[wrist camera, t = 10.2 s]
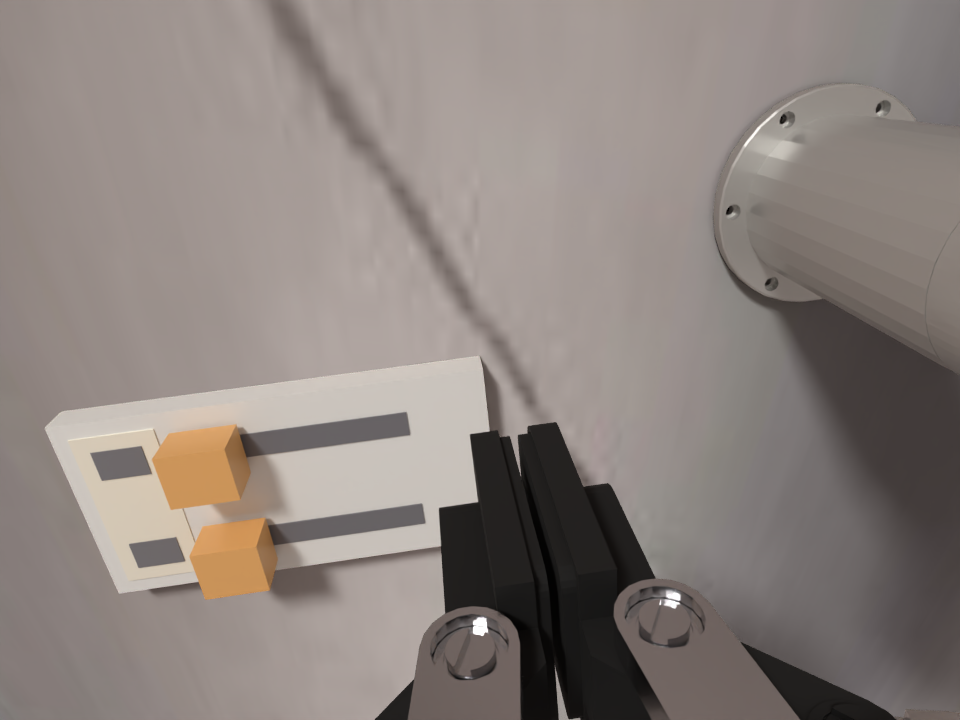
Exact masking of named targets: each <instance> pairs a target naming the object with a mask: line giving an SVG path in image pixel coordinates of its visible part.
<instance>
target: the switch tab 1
mask: <svg viewBox="0 0 960 720" xmlns="http://www.w3.org/2000/svg"><path fill="white" fill-rule="evenodd" d="M152 462H153V464H154V467H155V470H156V472H157V475H158V478H159V480H160V483H161V486H162V488H163V491H164V493H165V496H166V499H167V501H168V504H169V507H170V509H171V510H174V509H181V508H189V507H196V506H203V505H210V504H217V503H224V502H231V501H238V500H241V497H242V495H243V492H244V490H245V487H246V484H247V482H248V479H249V477H250V474H251V471H250V467H249V464H248V461H247V457H246V454H245V451H244V448H243V444H242V441H241V438H240V434H239V431H238V428H237V424H234V425H227V426H220V427H212V428H205V429H198V430H190V431H183V432H176V433H169V434H168V435H167V437H166V438H165V440H164V441H163V443H162V444H161V446H160V448H159V449H158V451H157V452H156V454H155V455H154V457H153V458H152Z"/></svg>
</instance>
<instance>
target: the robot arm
mask: <svg viewBox="0 0 960 720" xmlns="http://www.w3.org/2000/svg"><path fill="white" fill-rule="evenodd" d="M781 116H783V119H782V121H781V122H780V118H781ZM729 206H730V210H729V211H728V212H727V213H726V211H727V209H728V207H729ZM713 220H714V232H715V237H716V241H717V244H718V247H719V251H720V253H721V255H722V257H723V259H724V260H725V262H726V264H727V266H728V268H729V269H730V270H731V271H732V272H733V273H734V274H735V275H736V276H737V277H738V278H739V280H741V281H742V282H744V283H745V284H746V285H748V286H749V287H751V288H752V289H753V290H755V291H757V292H759V293H761V294H762V295H764V296H767V297H770V298H774V299H778V300H781V301H789V302H807V301H815V300H821V299H825V300H827V301H828V302H830V303H832V304H834V305H836V306H837V307H839V308H841V309H843V310H844V311H846V312H848V313H850V314H851V315H853V316H855V317H857V318H858V319H860V320H862V321H864V322H865V323H867V324H869V325H871V326H872V327H874V328H876V329H878V330H880V331H881V332H883V333H885V334H887V335H888V336H890V337H892V338H894V339H895V340H897V341H899V342H901V343H902V344H904V345H906V346H908V347H909V348H911V349H913V350H915V351H917V352H918V353H920V354H922V355H924V356H925V357H927V358H929V359H931V360H932V361H934V362H936V363H938V364H939V365H941V366H943V367H945V368H947V369H949V370H951V371H953V372H955V373H956V374H958V375H960V127H959V126H950V125H941V124H932V123H924V122H917V120H916V119H915V117H914V116H913V114H912V113H911V111H910V110H909V109H908V108H907V107H906V106H905V105H904V104H903V103H902V102H900V101H899V100H898V99H897V98H896V97H894V96H893V95H891V94H889V93H887V92H885V91H883V90H881V89H879V88H875V87H870V86H866V85H861V84H849V83H836V84H828V85H819V86H816V87H813V88H810V89H807V90H804V91H801V92H798V93H796V94H794V95H792V96H790V97H788V98H787V99H785V100H783V101H781V102H779V103H778V104H776V105H775V106H774V107H772V108H771V109H770V110H769V111H767V112H766V113H765V114H763V115H762V116H761V117H760V118H759V119H758V120H757V121H756V122H755V123H754V124H753V125H752V126H751V127H750V128H749V129H748V130H747V132H746V133H745V134H744V135H743V136H742V138H741V139H740V141H739V142H738V144H737V145H736V147H735V148H734V150H733V151H732V153H731V154H730V156H729V158H728V160H727V163H726V165H725V167H724V169H723V171H722V173H721V176H720V180H719V183H718V187H717V190H716V194H715V202H714V212H713ZM470 442H471V450H472V458H473V466H474V474H475V481H476V489H477V497H478V502H475V503H468V504H461V505H454V506H447V507H441V508H439V523H440V538H441V553H442V569H443V584H444V599H445V614H444V615H442V616H441V617H440V618H438V619H437V620H436V621H434V622H433V623H432V624H431V626H430V627H429V628H428V630H427V631H426V632H425V633H424V635H423V638H422V641H421V644H420V647H419V653H418V659H417V665H416V672H415V678H414V680H413V681H412V682H411V683H410V684H409V685H408V686H407V687H406V688H405V689H404V690H403V691H402V692H401V693H400V694H399V695H398V696H397V697H396V698H395V699H394V700H393V701H392V702H391V703H390V704H389V705H388V706H387V708H386V709H385V710H384V711H383V712H382V713H381V714H380V715H379V716H378V717H377V718H376V719H375V720H559V718H558V704H557V690H556V677H555V667H556V671H557V675H558V679H559V684H560V688H561V692H562V696H563V700H564V704H565V708H566V712H567V716H568V718H569V719H574V718H580V719H581V720H960V712H949V711H932V710H915V709H906V710H905V714H904V717H893V716H892V715H891V714H890V713H889V712H887V711H886V710H884V709H882V708H880V707H879V706H877V705H875V704H873V703H872V702H870V701H868V700H866V699H864V698H862V697H859V696H857V695H855V694H853V693H851V692H848V691H846V690H844V689H842V688H840V687H838V686H835V685H833V684H831V683H829V682H827V681H824V680H822V679H820V678H818V677H816V676H814V675H811V674H809V673H807V672H805V671H803V670H800V669H798V668H796V667H794V666H792V665H789V664H787V663H785V662H783V661H781V660H779V659H776V658H774V657H772V656H770V655H768V654H765V653H763V652H761V651H759V650H757V649H755V648H752V647H750V646H748V645H746V644H744V643H741V642H740V641H739V640H738V639H737V637H736V636H735V635H734V634H733V632H732V631H731V630H730V628H729V627H728V626H727V625H726V623H725V622H724V621H723V619H722V618H721V617H720V615H719V614H718V613H717V612H716V610H715V609H714V608H713V606H712V605H711V604H710V603H709V602H708V601H707V600H706V599H705V598H704V597H703V596H702V595H701V594H700V593H699V592H698V591H696V590H694V589H693V588H691V587H689V586H687V585H686V584H683V583H679V582H676V581H673V580H667V579H656V578H655V576H654V574H653V572H652V570H651V568H650V566H649V564H648V562H647V559H646V557H645V555H644V553H643V551H642V549H641V547H640V545H639V543H638V541H637V539H636V536H635V534H634V532H633V530H632V528H631V526H630V524H629V522H628V520H627V518H626V516H625V514H624V511H623V509H622V507H621V505H620V503H619V501H618V499H617V497H616V495H615V493H614V491H613V489H612V487H611V485H609V484H608V483H607V484H600V485H593V486H586V487H583V485H582V483H581V480H580V478H579V475H578V473H577V471H576V468H575V466H574V463H573V461H572V458H571V456H570V454H569V451H568V449H567V446H566V444H565V441H564V439H563V437H562V434H561V432H560V429H559V427H558V425H557V423H556V422H553V423H546V424H539V425H532V426H528V434H522V435H518V445H519V456H520V468H521V476H520V472H519V469H518V465H517V461H516V457H515V454H514V450H513V446H512V443H511V439H510V436H507V437H500V438H499V434H498V431H497V430H496V431H489V432H482V433H475V434H470ZM521 479H522V480H521Z"/></svg>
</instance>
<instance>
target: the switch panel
mask: <svg viewBox="0 0 960 720" xmlns="http://www.w3.org/2000/svg"><path fill="white" fill-rule="evenodd" d="M234 424H237V428H238V431H239V434H240V438H241V441H242V444H243V448H244V451H245V454H246V457H247V461H248V464H249V467H250V471H251V474H250V477H249V479H248V482H247V484H246V487H245V490H244V492H243V495H242V497H241V500H238V501H231V502H224V503H217V504H210V505H203V506H196V507H189V508H181V509H174V510H171V509H170V507H169V504H168V501H167V499H166V496H165V493H164V491H163V488H162V486H161V483H160V480H159V478H158V475H157V472H156V470H155V467H154V464H153V462H152V458H153V457H154V455H155V454H156V452H157V451H158V449H159V448H160V446H161V444H162V443H163V441H164V440H165V438H166V437H167V435H168V434H169V433H176V432H183V431H190V430H198V429H205V428H212V427H220V426H227V425H234ZM45 430H46V432H47V435H48V437H49V439H50V441H51V443H52V446H53V448H54V450H55V452H56V455H57V457H58V459H59V461H60V463H61V466H62V468H63V470H64V472H65V475H66V477H67V479H68V481H69V483H70V486H71V488H72V490H73V492H74V495H75V497H76V499H77V501H78V503H79V506H80V508H81V510H82V512H83V515H84V517H85V519H86V521H87V523H88V526H89V528H90V530H91V532H92V535H93V537H94V539H95V541H96V543H97V546H98V548H99V550H100V552H101V555H102V557H103V559H104V561H105V563H106V566H107V568H108V570H109V572H110V575H111V577H112V579H113V581H114V583H115V586H116V588H117V590H118V592H119V593H126V592H133V591H139V590H146V589H153V588H160V587H167V586H173V585H180V584H187V583H194V582H199V581H198V579H197V576H196V573H195V571H194V568H193V565H192V563H191V560H190V557H189V556H190V554H191V551H192V549H193V547H194V545H195V542H196V540H197V538H198V536H199V533H200V531H201V529H202V527H203V526H209V525H216V524H223V523H230V522H237V521H244V520H251V519H258V518H266V521H267V524H268V528H269V531H270V534H271V537H272V541H273V544H274V547H275V551H276V554H277V557H278V561H277V565H276V569H275V570H282V569H289V568H296V567H303V566H309V565H316V564H323V563H330V562H337V561H343V560H350V559H357V558H364V557H370V556H377V555H384V554H391V553H398V552H404V551H411V550H418V549H425V548H432V547H438V546H441V538H440V523H439V508H441V507H447V506H454V505H461V504H468V503H475V502H478V497H477V489H476V481H475V474H474V466H473V458H472V450H471V442H470V434H475V433H482V432H489V431H490V430H489V421H488V411H487V402H486V393H485V384H484V375H483V368H482V363H481V359H480V356H474V357H466V358H459V359H451V360H444V361H436V362H429V363H421V364H414V365H406V366H399V367H391V368H384V369H376V370H369V371H361V372H354V373H346V374H339V375H331V376H324V377H316V378H309V379H301V380H294V381H286V382H279V383H271V384H264V385H256V386H249V387H241V388H234V389H226V390H219V391H211V392H204V393H196V394H189V395H181V396H174V397H166V398H159V399H151V400H144V401H136V402H129V403H121V404H114V405H106V406H99V407H91V408H84V409H76V410H69V411H61V412H60V413H59V414H58V415H57V416H56V417H55V418H54V419H53V420H52V421H51V422H50V423H49V424H48V425H47V426H46V427H45Z"/></svg>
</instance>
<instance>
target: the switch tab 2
mask: <svg viewBox="0 0 960 720" xmlns="http://www.w3.org/2000/svg"><path fill="white" fill-rule="evenodd" d="M189 557H190V560H191V563H192V565H193V568H194V571H195V573H196V576H197V579H198V581H199V584H200V587H201V589H202V592H203V595H204V597H205V600H207V599H214V598H221V597H228V596H234V595H241V594H248V593H254V592H261V591H268V590H270V588H271V584H272V580H273V577H274V573H275V569H276V565H277V561H278V557H277V554H276V551H275V547H274V544H273V541H272V537H271V534H270V531H269V528H268V524H267V521H266V518H258V519H251V520H244V521H237V522H230V523H223V524H216V525H209V526H203V527H202V529H201V531H200V533H199V536H198V538H197V540H196V542H195V545H194V547H193V549H192V551H191V554H190V556H189Z"/></svg>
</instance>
